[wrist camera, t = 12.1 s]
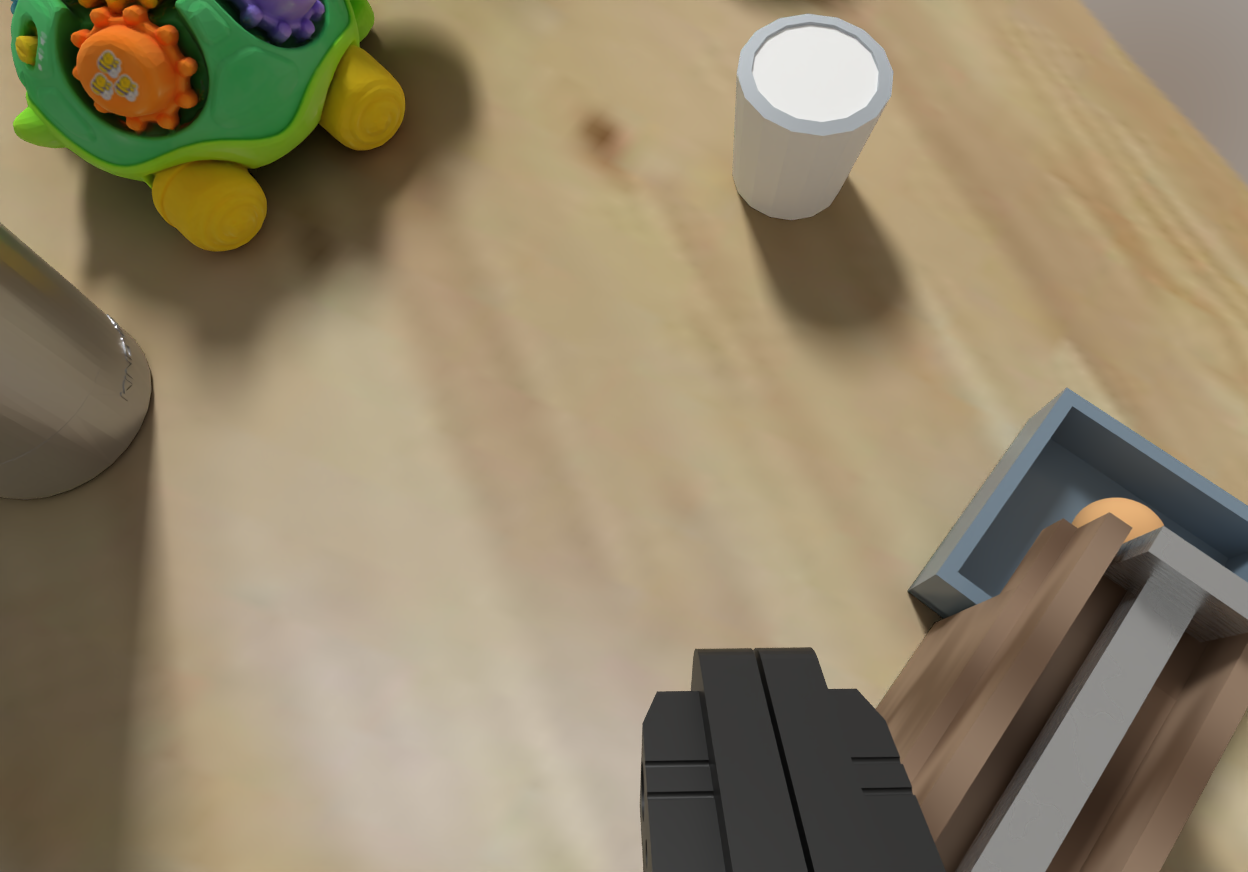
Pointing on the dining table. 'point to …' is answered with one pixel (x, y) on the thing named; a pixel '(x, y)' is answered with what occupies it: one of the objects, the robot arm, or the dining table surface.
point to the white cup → (804, 111)
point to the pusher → (1108, 694)
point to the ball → (1121, 515)
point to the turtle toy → (199, 95)
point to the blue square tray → (1073, 502)
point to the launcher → (1030, 691)
